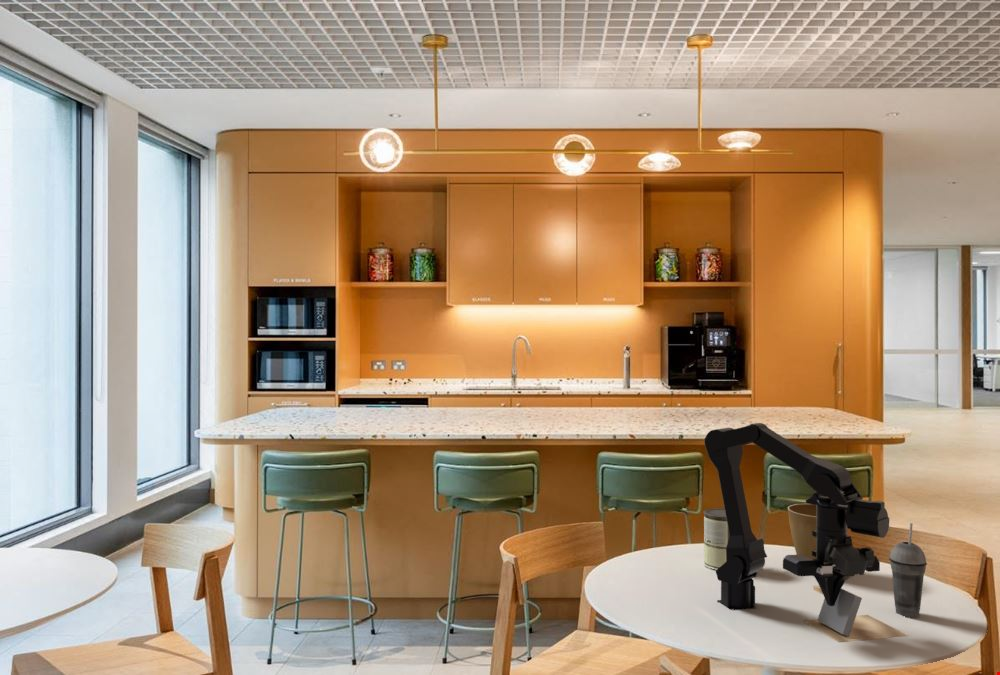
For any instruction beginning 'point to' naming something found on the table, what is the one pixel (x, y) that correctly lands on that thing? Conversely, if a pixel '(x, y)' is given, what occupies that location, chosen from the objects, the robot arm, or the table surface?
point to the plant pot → (803, 528)
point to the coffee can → (715, 537)
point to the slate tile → (841, 612)
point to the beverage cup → (907, 576)
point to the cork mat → (859, 629)
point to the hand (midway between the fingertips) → (830, 605)
